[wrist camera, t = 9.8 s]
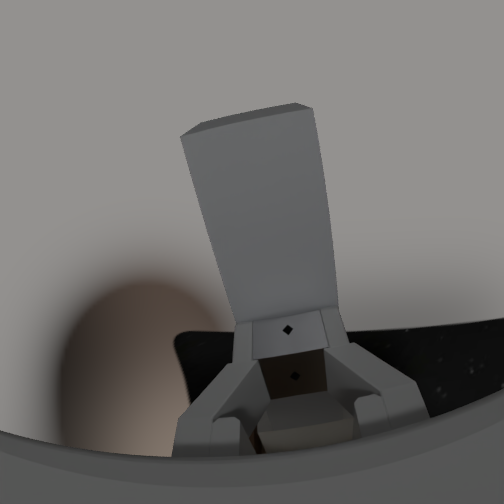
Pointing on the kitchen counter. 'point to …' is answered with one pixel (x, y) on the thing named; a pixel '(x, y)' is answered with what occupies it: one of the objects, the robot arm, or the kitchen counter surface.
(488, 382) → the kitchen counter surface
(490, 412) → the robot arm
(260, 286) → the tall post on base
